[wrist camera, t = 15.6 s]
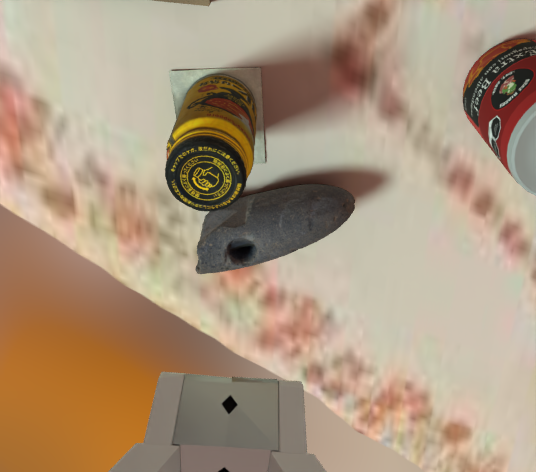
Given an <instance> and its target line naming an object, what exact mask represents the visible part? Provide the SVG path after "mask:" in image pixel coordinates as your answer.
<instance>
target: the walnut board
mask: <svg viewBox="0 0 536 472" xmlns="http://www.w3.org/2000/svg"><path fill="white" fill-rule="evenodd" d="M154 1H164V2H174V3H183V4H193V5H203V6H209V5H210V3H211V0H154Z"/></svg>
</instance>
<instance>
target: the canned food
mask: <svg viewBox="0 0 536 472" xmlns="http://www.w3.org/2000/svg"><path fill="white" fill-rule="evenodd" d="M463 105H464V111H465V113H466V115H467V118H468V119H469V121H470V122H471V123H472V125H473V126H474V127H475V129H476V130H477V131H478V133H479V134H480V135H481V137H482V138H483V139H484V141H485V142H486V143H487V144H488V146H489V147H490V148H491V150H492V151H493V152H494V154H495V155H496V156H497V158H498V159H499V160H500V161H501V163H502V164H503V165H504V167H505V168H506V169H507V171H508V172H509V173H510V175H511V176H512V177H513V178H514V179H515V180H516V182H517V183H518V184H520V185H521V186H522V187H523V188H524V189H525V190H527V191H528V192H530V193H532V194H534V195H536V40H529V39H519V40H512V41H507V42H504V43H501V44H499V45H497V46H495V47H493V48H491V49H490V50H488V51H487V52H486V53H484V54H483V55H482V56H481V57H480V58H479V59H478V60H477V61H476V62H475V64H474V65H473V67H472V68H471V70H470V71H469V73H468V76H467V78H466V80H465V84H464V88H463Z"/></svg>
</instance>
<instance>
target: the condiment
mask: <svg viewBox="0 0 536 472" xmlns="http://www.w3.org/2000/svg"><path fill="white" fill-rule="evenodd" d="M169 74H170V81H171V87H172V93H173V100H174V106H175V113H176V119H177V120H176V122H175V125H174V128H173V130H172V133H171V136H170V138H169V140H168V143H167V144H168V145H167V162H166V168H165V171H166V172H165V177H166V180H167V184H168V187H169V189H170V191H171V193H172V194H173V195H174V197H175V198H176V199H177V200H179V201H180V202H182V203H184V204H185V205H187V206H189V207H191V208H193V209H196V210H198V211H218V210H221V209H225V208H227V207H229V206H230V205H231V204H233V203H234V202H236V201H237V200H238V199H239V197H240V195H241V194H242V193H243V190H244V188H245V187H246V180H247V178H248V176H249V174H250V172H251V169H252V167H253V164H261V163H265V145H264V124H263V102H262V81H261V68H227V69H201V70H183V71H169Z"/></svg>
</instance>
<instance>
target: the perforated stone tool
mask: <svg viewBox="0 0 536 472" xmlns="http://www.w3.org/2000/svg"><path fill="white" fill-rule="evenodd" d="M354 203H355V200H354V197H353V196H352V194H350V193H349V192H348V191H346V190H344V189H342V188H339V187H334V186H329V185H320V184H307V185H297V186H291V187H285V188H281V189H275V190H271V191H266V192H262V193H258V194H253V195H249V196H245V197H243V198H239V199H238V200H237V201H236V202H234V203H233V204H231V205H230V206H229V207H227V208H225V209H221V210H218V211H210V212H209V213H208V214H207V215H206V216H205V219H204V223H203V227H202V232H201V237H200V241H199V242H198V245H197V254H198V258H199V260H198V264H197V266H196V272H197V273H198V274H205V273H216V272H223V271H228V270H234V269H240V268H244V267H249V266H252V265H256V264H260V263H263V262H266V261H269V260H272V259H276V258H279V257H281V256H285V255H287V254H289V253H292V252H294V251H296V250H298V249H301V248H303V247H306V246H308V245H310V244H312V243H314V242H317V241H318V240H320V239H322V238H324V237H325V236H327V235H329V234H330V233H332V232H334V231H335V230H336V229H337V228H339V227H340V226H341V225H342V224H343V223H344V222H345V221H347V220H348V218H349V217H350V215H351V214H352V213H353V211H354V208H355V205H354Z"/></svg>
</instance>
